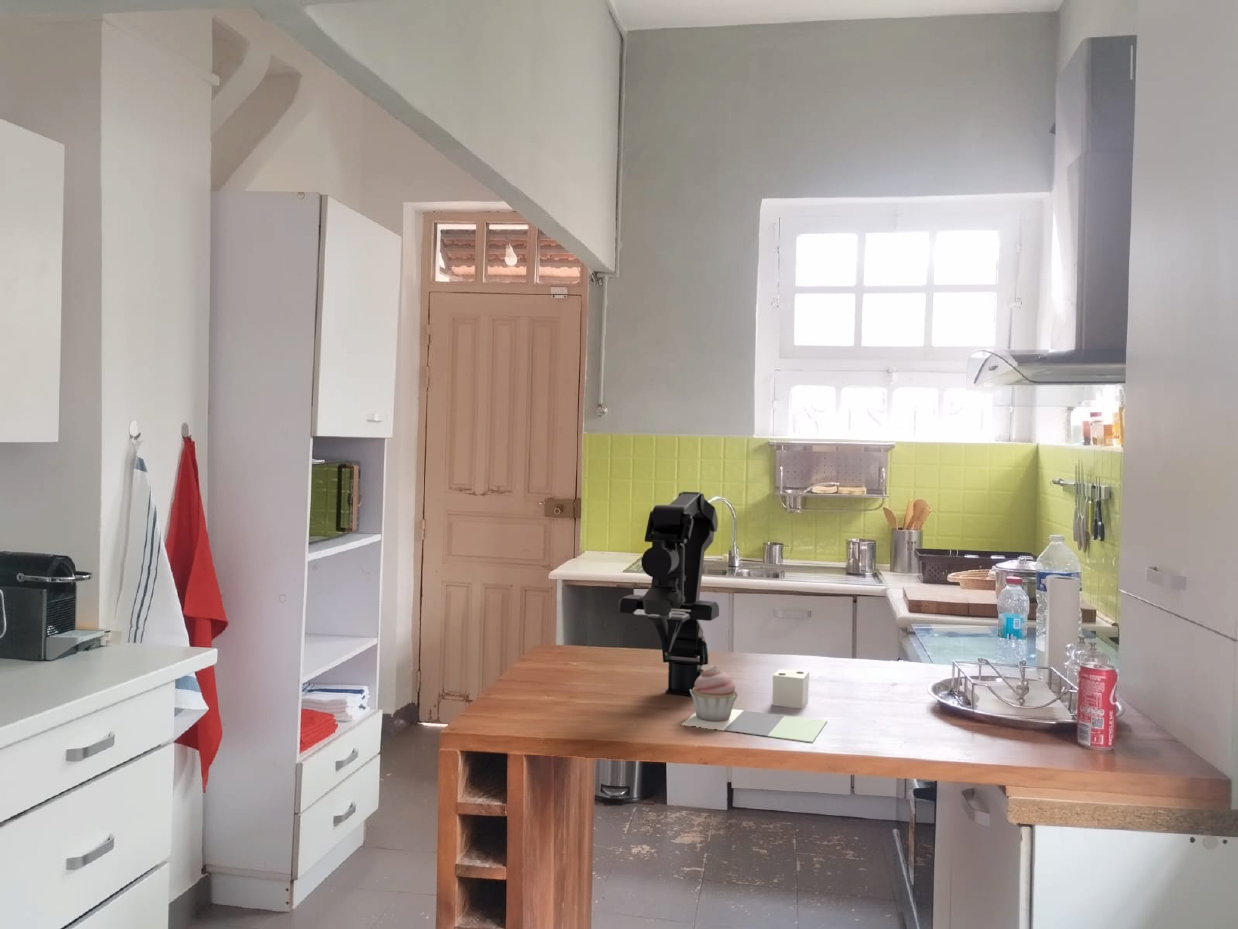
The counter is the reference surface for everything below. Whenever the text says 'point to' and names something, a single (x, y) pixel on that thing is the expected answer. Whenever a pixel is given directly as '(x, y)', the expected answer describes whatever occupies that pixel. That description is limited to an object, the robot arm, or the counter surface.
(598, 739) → the counter surface
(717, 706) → the cupcake
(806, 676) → the white cube
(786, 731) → the game board
